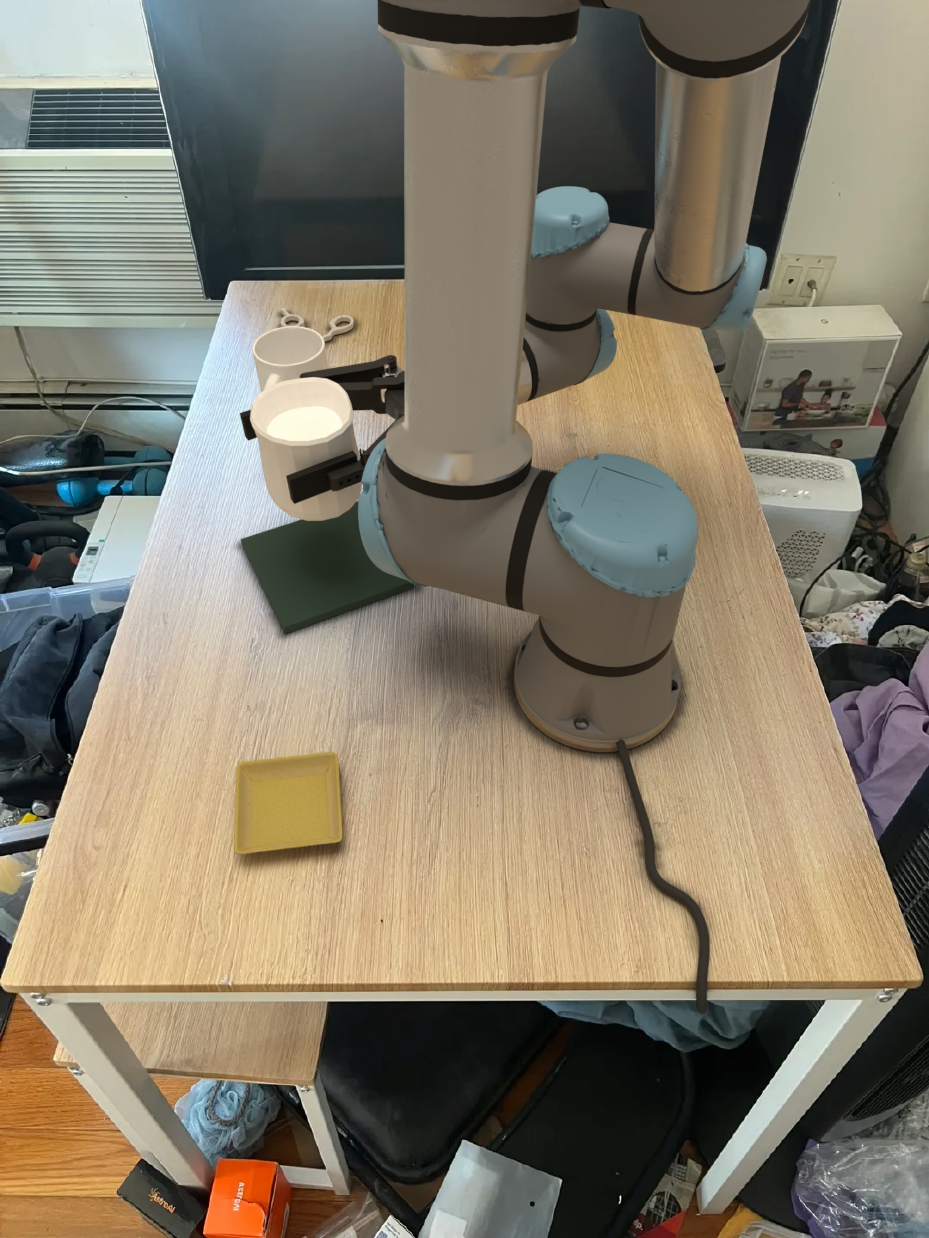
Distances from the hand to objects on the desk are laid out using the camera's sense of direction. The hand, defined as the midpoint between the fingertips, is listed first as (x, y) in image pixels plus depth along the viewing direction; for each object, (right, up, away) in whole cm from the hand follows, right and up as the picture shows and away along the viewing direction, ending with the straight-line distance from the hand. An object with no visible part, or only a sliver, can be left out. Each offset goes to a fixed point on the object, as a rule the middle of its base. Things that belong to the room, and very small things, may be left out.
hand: (266, 457), depth 83 cm
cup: (+4, -2, +6) cm, 8 cm away
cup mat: (+3, -9, +13) cm, 16 cm away
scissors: (-3, +21, +39) cm, 45 cm away
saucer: (+3, -31, -6) cm, 32 cm away
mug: (-3, +9, +29) cm, 30 cm away
